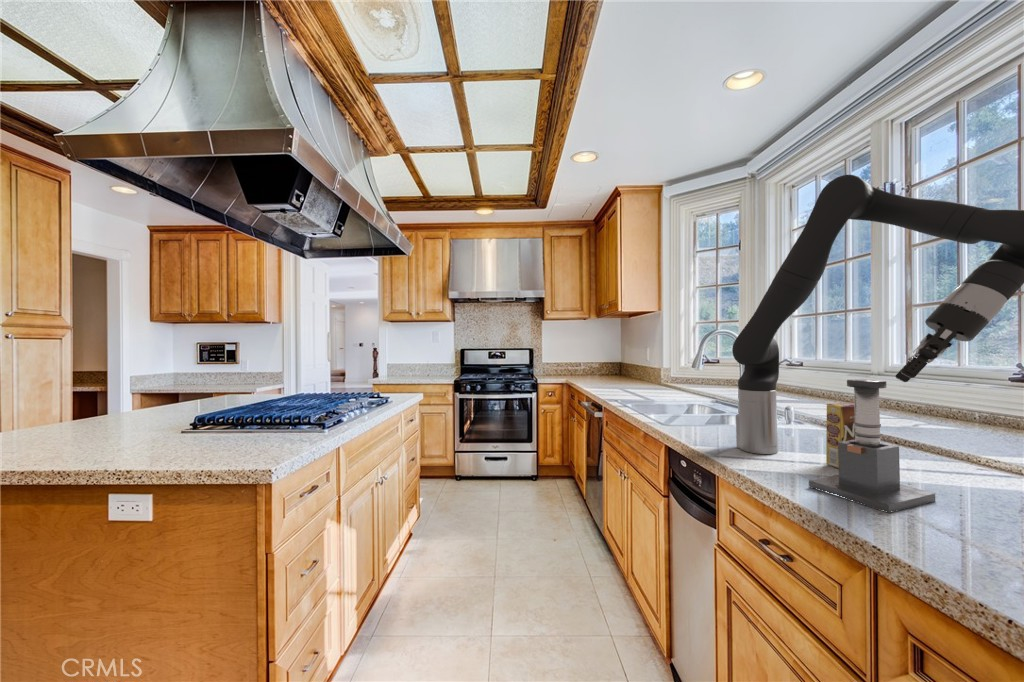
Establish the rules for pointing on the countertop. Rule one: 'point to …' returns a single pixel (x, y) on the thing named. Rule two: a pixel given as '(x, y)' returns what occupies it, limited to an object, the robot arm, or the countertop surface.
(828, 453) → the candy box
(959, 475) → the countertop surface
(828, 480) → the stand base
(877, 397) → the steel column
